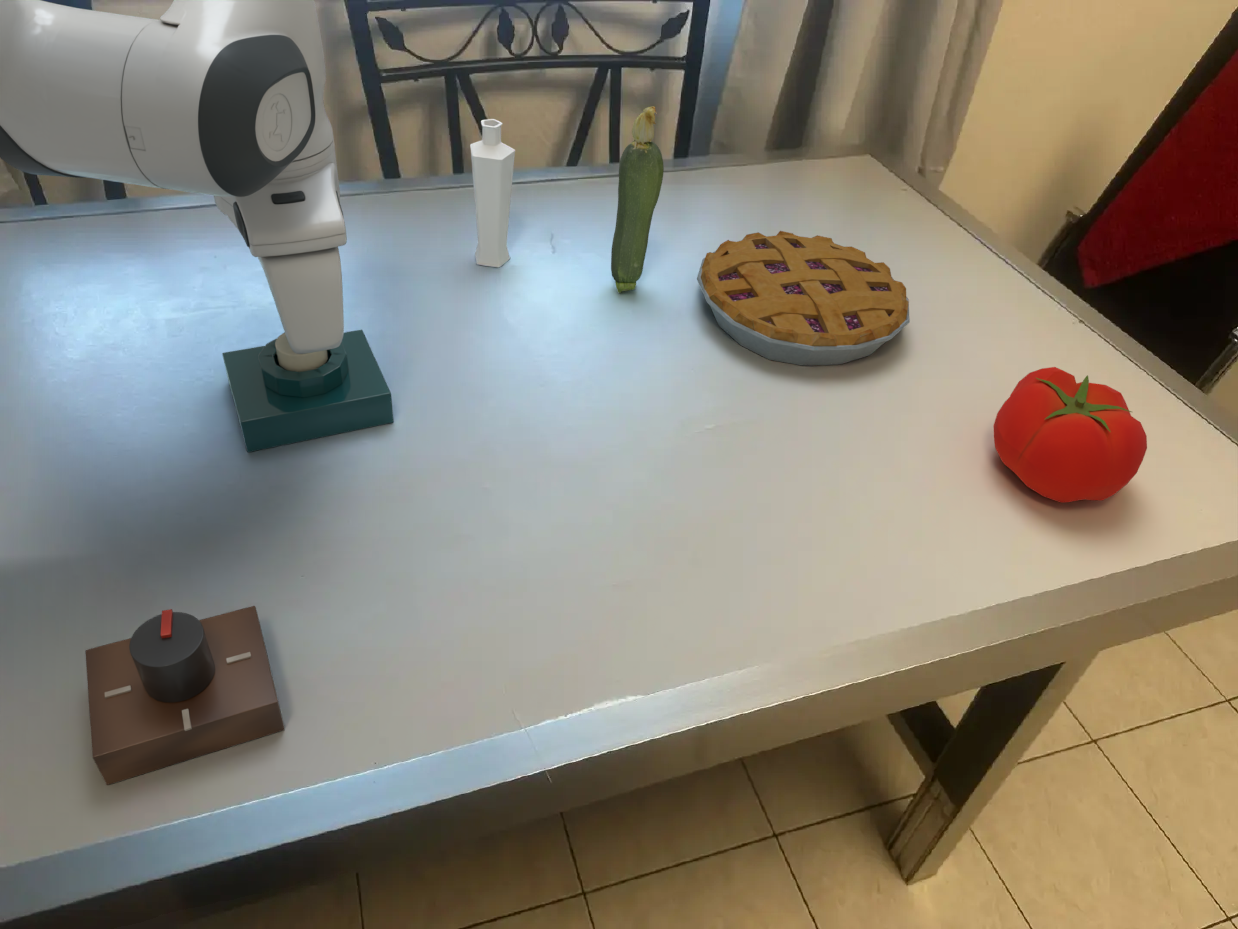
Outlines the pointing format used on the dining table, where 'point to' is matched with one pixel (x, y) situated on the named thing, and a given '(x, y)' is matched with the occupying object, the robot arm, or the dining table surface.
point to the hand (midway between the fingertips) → (301, 335)
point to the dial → (172, 656)
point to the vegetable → (636, 201)
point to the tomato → (1069, 437)
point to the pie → (802, 298)
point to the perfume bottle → (492, 193)
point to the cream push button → (298, 357)
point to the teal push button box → (307, 394)
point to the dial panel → (181, 702)
